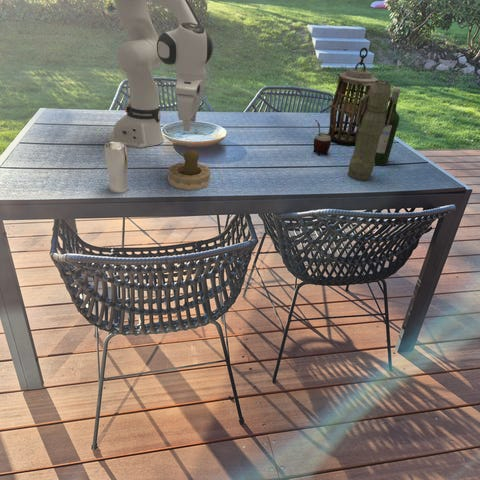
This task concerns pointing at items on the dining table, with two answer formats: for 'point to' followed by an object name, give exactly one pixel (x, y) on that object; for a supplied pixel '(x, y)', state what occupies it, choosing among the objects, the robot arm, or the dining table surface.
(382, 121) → the thermos
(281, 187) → the dining table surface
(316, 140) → the mate gourd
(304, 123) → the dining table surface
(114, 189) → the beer glass
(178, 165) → the tan faceted ring
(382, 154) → the wine bottle
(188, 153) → the dark brown rounded piece
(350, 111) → the lantern
